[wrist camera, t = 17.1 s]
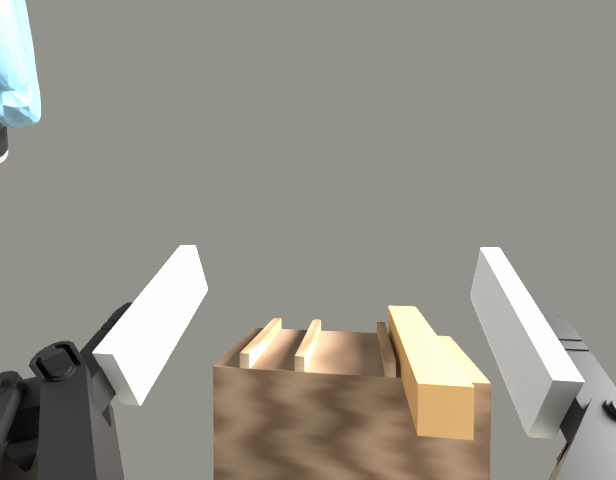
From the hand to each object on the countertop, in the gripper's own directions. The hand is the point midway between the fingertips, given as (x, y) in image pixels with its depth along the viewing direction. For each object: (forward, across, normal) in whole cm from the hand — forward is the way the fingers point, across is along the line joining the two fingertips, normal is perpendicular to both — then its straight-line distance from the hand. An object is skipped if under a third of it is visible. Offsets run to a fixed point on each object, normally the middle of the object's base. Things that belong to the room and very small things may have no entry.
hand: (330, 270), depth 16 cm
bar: (+11, +7, -20) cm, 23 cm away
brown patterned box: (-1, 0, -48) cm, 48 cm away
